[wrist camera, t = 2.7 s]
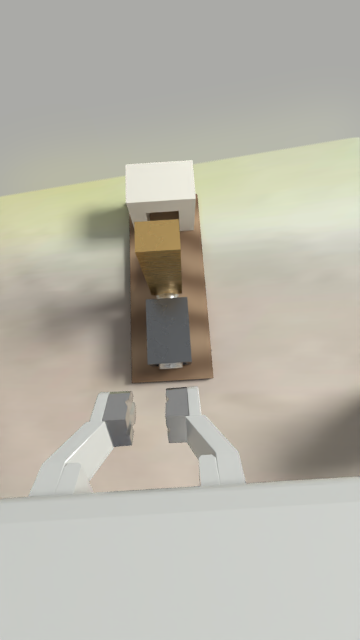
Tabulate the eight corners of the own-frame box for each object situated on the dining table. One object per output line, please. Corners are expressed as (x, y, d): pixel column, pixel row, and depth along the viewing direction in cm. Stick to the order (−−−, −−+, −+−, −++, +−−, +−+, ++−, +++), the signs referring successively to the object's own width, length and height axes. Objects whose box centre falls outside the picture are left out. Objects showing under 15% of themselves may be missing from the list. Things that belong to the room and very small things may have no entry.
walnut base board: (212, 378, 35) (213, 378, 34) (133, 383, 35) (131, 383, 34) (196, 198, 42) (197, 194, 41) (130, 202, 42) (129, 198, 41)
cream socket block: (193, 230, 39) (195, 198, 32) (136, 233, 39) (125, 203, 33) (191, 197, 41) (192, 160, 34) (135, 200, 41) (125, 164, 34)
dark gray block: (190, 364, 34) (191, 361, 30) (152, 366, 35) (147, 364, 30) (187, 308, 36) (187, 296, 32) (150, 310, 36) (145, 299, 32)
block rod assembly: (186, 367, 33) (188, 359, 20) (156, 369, 33) (136, 362, 20) (178, 248, 38) (175, 172, 24) (152, 249, 38) (133, 175, 24)
